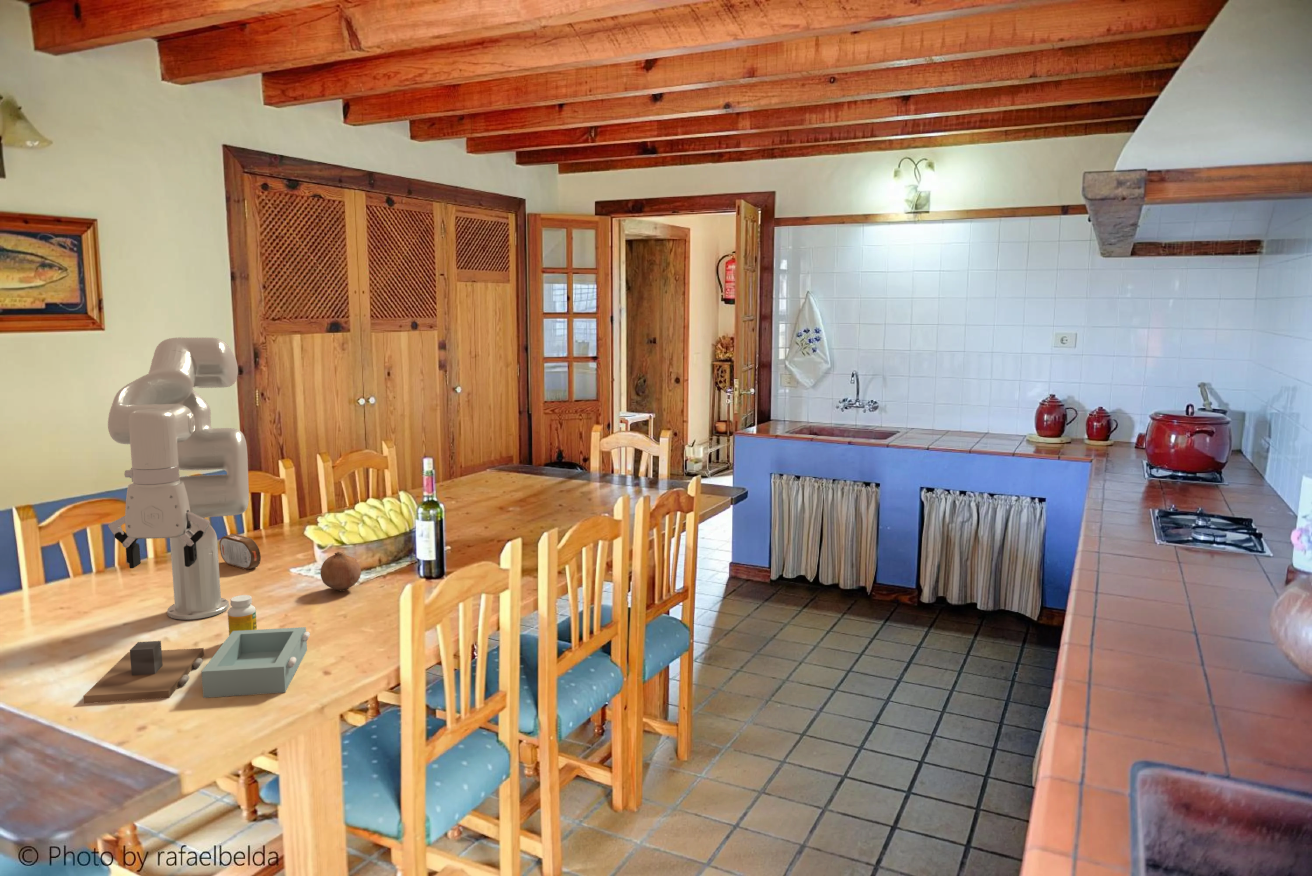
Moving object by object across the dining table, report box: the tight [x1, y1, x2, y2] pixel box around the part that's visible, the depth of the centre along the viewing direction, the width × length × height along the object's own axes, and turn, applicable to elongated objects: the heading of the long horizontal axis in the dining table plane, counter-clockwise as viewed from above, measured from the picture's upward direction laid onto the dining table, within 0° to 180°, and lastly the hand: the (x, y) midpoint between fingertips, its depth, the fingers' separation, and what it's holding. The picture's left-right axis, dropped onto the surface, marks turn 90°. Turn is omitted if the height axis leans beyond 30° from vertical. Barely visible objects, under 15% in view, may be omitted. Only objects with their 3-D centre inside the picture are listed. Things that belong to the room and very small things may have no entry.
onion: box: [320, 551, 362, 592], centre depth 217 cm, size 10×9×10 cm
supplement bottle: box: [227, 594, 258, 636], centre depth 184 cm, size 5×5×10 cm
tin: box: [219, 533, 261, 571], centre depth 236 cm, size 15×3×8 cm, turn 58°
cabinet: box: [201, 626, 311, 699], centre depth 169 cm, size 20×15×5 cm
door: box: [82, 640, 205, 704], centre depth 166 cm, size 20×15×6 cm
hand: (162, 565), depth 164 cm, fingers open, 9 cm apart
